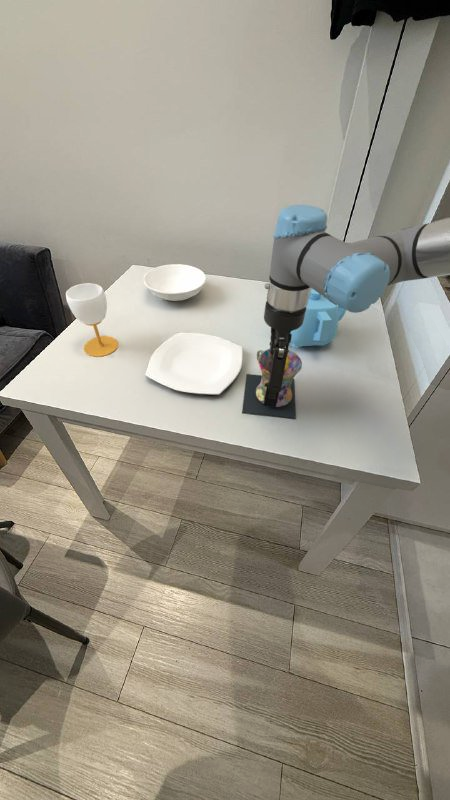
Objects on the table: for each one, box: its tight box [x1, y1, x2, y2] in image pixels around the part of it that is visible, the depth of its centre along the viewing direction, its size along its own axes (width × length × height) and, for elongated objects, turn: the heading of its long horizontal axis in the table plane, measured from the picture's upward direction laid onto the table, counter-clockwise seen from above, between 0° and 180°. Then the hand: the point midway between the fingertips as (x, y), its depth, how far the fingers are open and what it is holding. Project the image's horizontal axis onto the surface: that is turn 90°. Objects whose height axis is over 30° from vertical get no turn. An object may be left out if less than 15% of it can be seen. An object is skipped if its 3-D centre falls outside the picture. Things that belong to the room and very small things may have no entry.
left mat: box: [241, 373, 297, 420], centre depth 77 cm, size 13×12×1 cm
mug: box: [256, 348, 303, 407], centre depth 74 cm, size 12×9×11 cm
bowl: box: [142, 263, 207, 302], centre depth 106 cm, size 20×20×6 cm
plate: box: [145, 332, 244, 396], centre depth 83 cm, size 23×23×2 cm
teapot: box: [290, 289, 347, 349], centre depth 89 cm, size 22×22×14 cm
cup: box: [65, 282, 119, 358], centre depth 83 cm, size 9×9×16 cm
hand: (270, 390), depth 76 cm, fingers closed on mug, 9 cm apart
